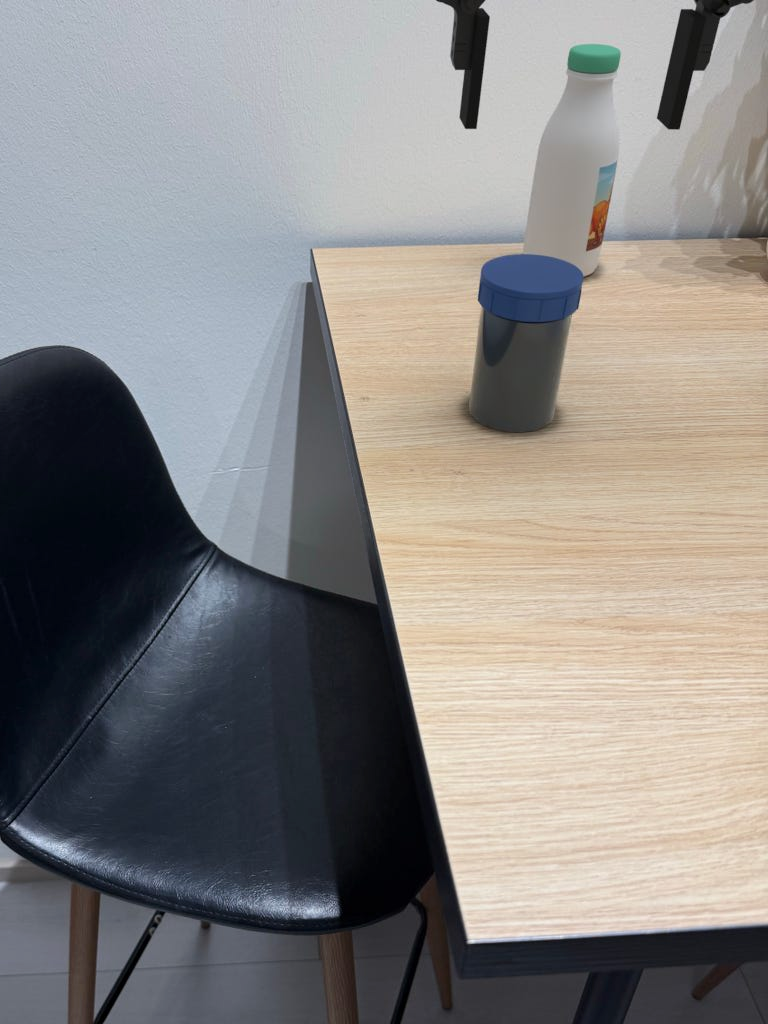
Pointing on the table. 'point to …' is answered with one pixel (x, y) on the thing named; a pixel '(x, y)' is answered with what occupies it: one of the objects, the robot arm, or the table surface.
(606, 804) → the table surface
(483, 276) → the lid
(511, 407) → the jar
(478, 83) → the robot arm
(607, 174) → the milk bottle
